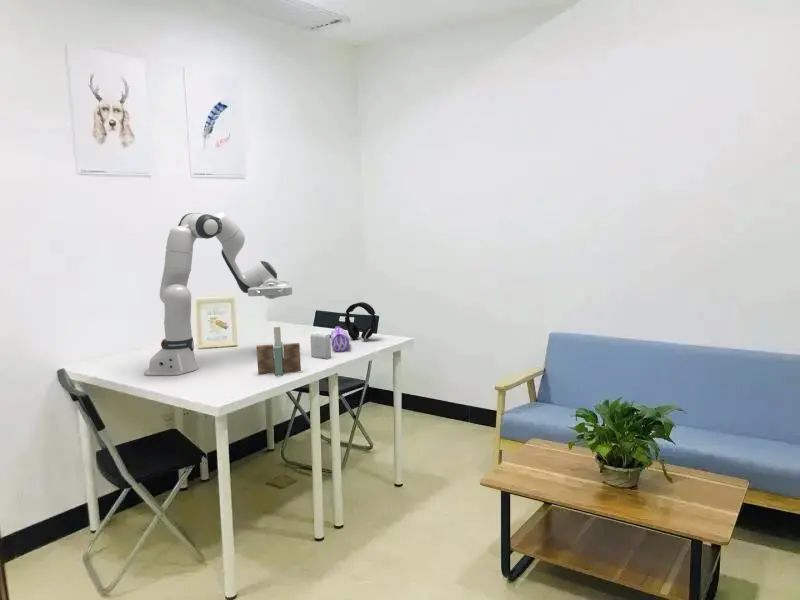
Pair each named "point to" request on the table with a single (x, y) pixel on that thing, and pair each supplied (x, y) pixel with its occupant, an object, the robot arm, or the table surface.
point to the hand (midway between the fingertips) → (269, 293)
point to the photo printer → (320, 344)
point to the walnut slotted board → (289, 361)
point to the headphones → (353, 329)
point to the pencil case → (339, 339)
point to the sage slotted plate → (278, 351)
